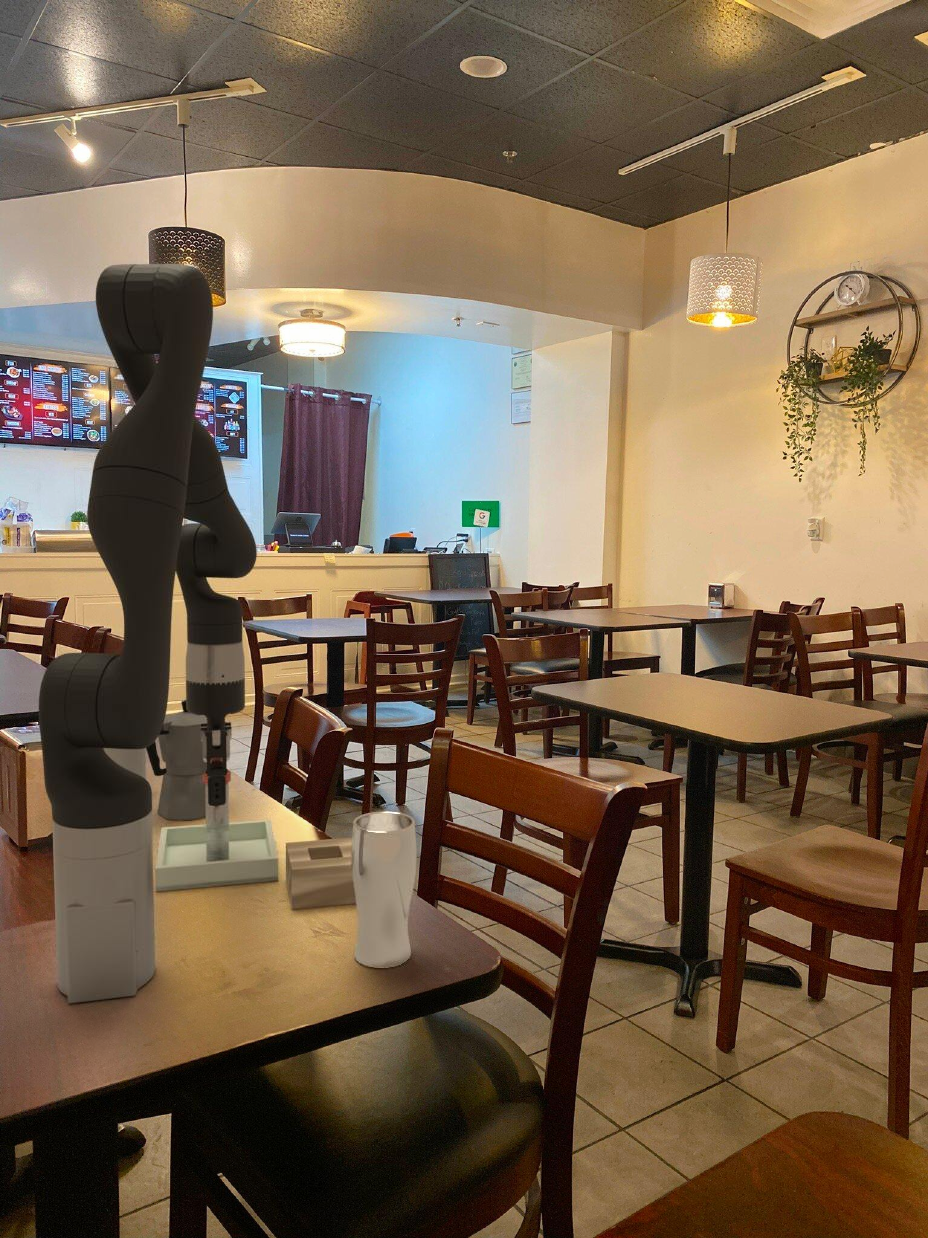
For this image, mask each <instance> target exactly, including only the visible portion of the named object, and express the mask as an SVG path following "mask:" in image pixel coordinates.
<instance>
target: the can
mask: <svg viewBox="0 0 928 1238" xmlns="http://www.w3.org/2000/svg"><path fill="white" fill-rule="evenodd" d="M103 749H104V751H105V753H106V754H107V755H108V756H109V757H110V758H111V759H112V760H113V761H114V762H116V763H117V764H118V765H120V766H122V767H123V768H125V769H127V770H129V771H131V772H133V773H136V774H138V775H140V776H142V777H143V778H145V779H146V780H147V768H146V767H147V766H146V765H147V764H146V762H147V761H146V760H147V759H146V748H144V749H111V748H103Z"/></svg>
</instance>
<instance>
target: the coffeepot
mask: <svg viewBox="0 0 928 1238" xmlns="http://www.w3.org/2000/svg"><path fill="white" fill-rule="evenodd" d="M180 703H181V707H182V711H178V712H174V713H169V714H166V716H165V720H164V723H163V726H162V729H161V731H160V734H159V736H158V737H157V739H158V744H159V749H160V753H161V754H160V755H161V758H160V756H159V754H158V749H157V743H156V741H155V742H154V743H153V744H151V745H150V746H149V747H147V748H145V751H146V753H147V756H148V759H149V762H150V763H149V764H150V766H151V768H152V772H153V775H154V776H155V777H161V776H162V781H161V789H160V793H159V794H160V795H159V801H158V806H157V814H158V815H159V816H160V817H161V818H163V819H166V820H168V821H176V822H177V821H178V822H181V821H182V822H183V821H185V822H187V821H197V820H201V819H206V797H205V783H204V782H203V773H204V772H206V770H207V763H206V762H204V761H203V742H202V741H201V723H207V717H206V716H205V715H195V714H191V713H189V712H188V711H187V709H186V699H185V700H182V701H181V702H180ZM161 759H162V762H164V763H165V767H164V768H161V765H160V764H161V763H160V762H161Z"/></svg>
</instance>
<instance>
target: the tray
mask: <svg viewBox="0 0 928 1238" xmlns="http://www.w3.org/2000/svg"><path fill="white" fill-rule="evenodd" d="M156 856H157V857H156V861H155V868H154V869H155V871H154V873H155V892H168V891H176V890H177V891H178V890H189V889H190V890H191V889H199V888H210V887H211V888H212V887H221V886H223V887H224V886H233V885H243V884H246V885H247V884H255V883H257V884H258V883H265V882H266V883H267V882H277V881H279V856H278V851H277V845H276V841H275V835H274V830H273V825H272V821H271V819H263V820H251V821H250V820H249V821H235V822H234V821H233V822H229V860H223V861H211V862H207V861H206V823H205V824H193V825H180V826H179V825H178V826H176V825H175V826H165V827H164V826H163V827H161V829H160V835H159V843H158V849H157V855H156Z"/></svg>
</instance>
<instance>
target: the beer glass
mask: <svg viewBox="0 0 928 1238" xmlns="http://www.w3.org/2000/svg"><path fill="white" fill-rule="evenodd" d="M415 822H416V821H415V818H413V817H412V816H411V815H408V814H407V813H401V812H398V811H397V812H396V811H386V810H385V811H372V812H368V813H367V812H366V813H364V814H360V815H359V816H357V817H356V818H354V819H353V822H352V824H353V826H352V837H351V838H352V846H351V874H352V883H353V889H354V895H355V901H356V903H355V906H356V912H357V920H358V925H357V927H358V929H357V937H356V942H355V947H354V959H355V961H356V962H357V961H358V962H357V963H359V964H360V963H361V964H363V965H366V966H372V967H376V968H379V967H384V968H385V967H391V966H397V965H400V966H402V965H403V964H402V963H404V962H405V963H407V962H408V961H409V960H410V958H411V954H412V949H411V944H410V937H409V930H408V929H409V928H408V922H409V912H410V906H411V902H412V897H413V892H414V887H415V882H416V881H415V879H416V874H417V873H416V872H417V841H416V840H417V839H416V838H417V837H416V823H415ZM408 959H409V960H408ZM407 960H408V961H407ZM406 961H407V962H406ZM405 963H404V964H405ZM361 964H360V965H361ZM401 964H402V965H401ZM363 965H362V966H363ZM366 966H365V967H366ZM397 967H398V966H397Z"/></svg>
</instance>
